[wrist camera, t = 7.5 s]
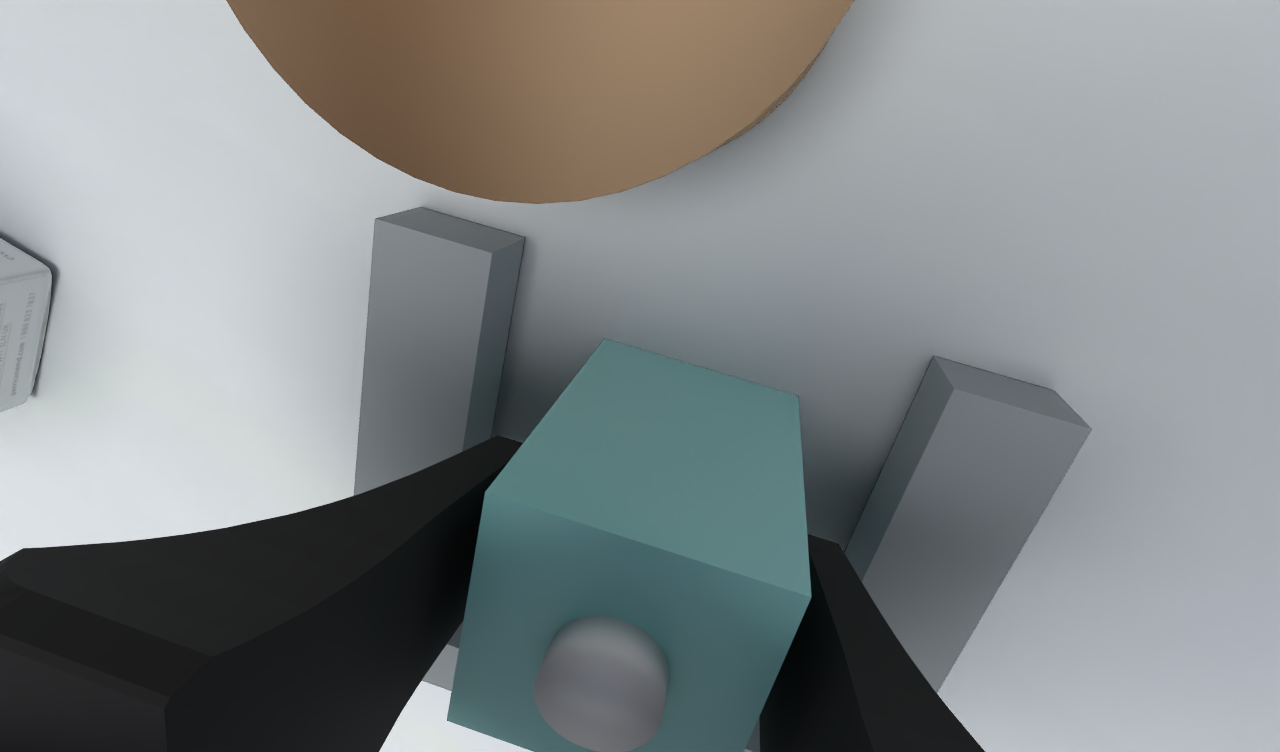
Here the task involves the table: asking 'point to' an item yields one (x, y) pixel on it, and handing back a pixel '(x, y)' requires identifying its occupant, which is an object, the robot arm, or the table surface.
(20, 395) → the skincare box
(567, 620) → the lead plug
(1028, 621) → the table surface
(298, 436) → the table surface
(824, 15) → the spool
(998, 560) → the gray u-shaped block
